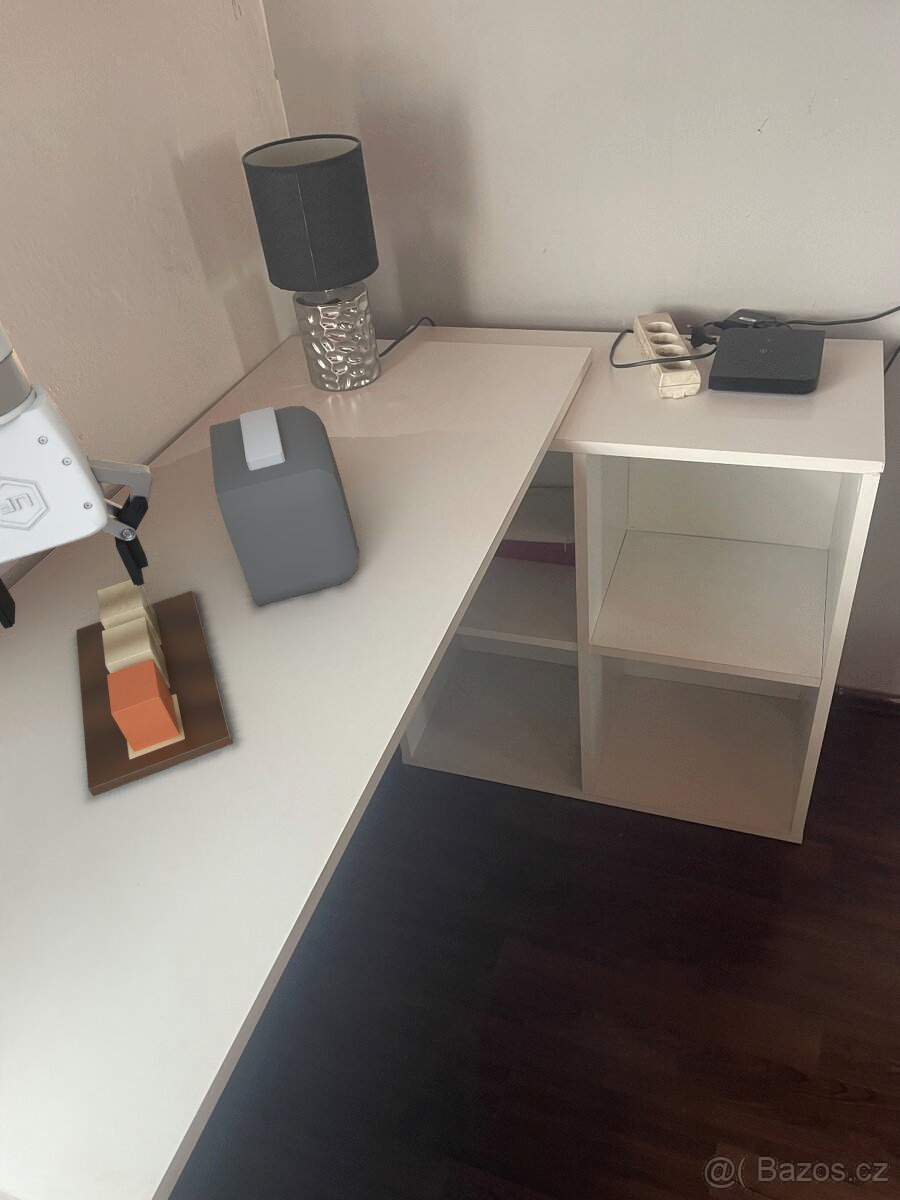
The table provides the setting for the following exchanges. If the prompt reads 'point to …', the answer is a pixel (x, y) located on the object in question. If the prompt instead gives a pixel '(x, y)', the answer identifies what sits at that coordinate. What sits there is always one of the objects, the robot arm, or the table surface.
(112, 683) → the terracotta orange cube
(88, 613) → the table surface
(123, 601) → the beige wooden cube
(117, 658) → the cream wooden block
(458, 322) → the table surface
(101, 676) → the word board
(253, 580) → the alarm clock
